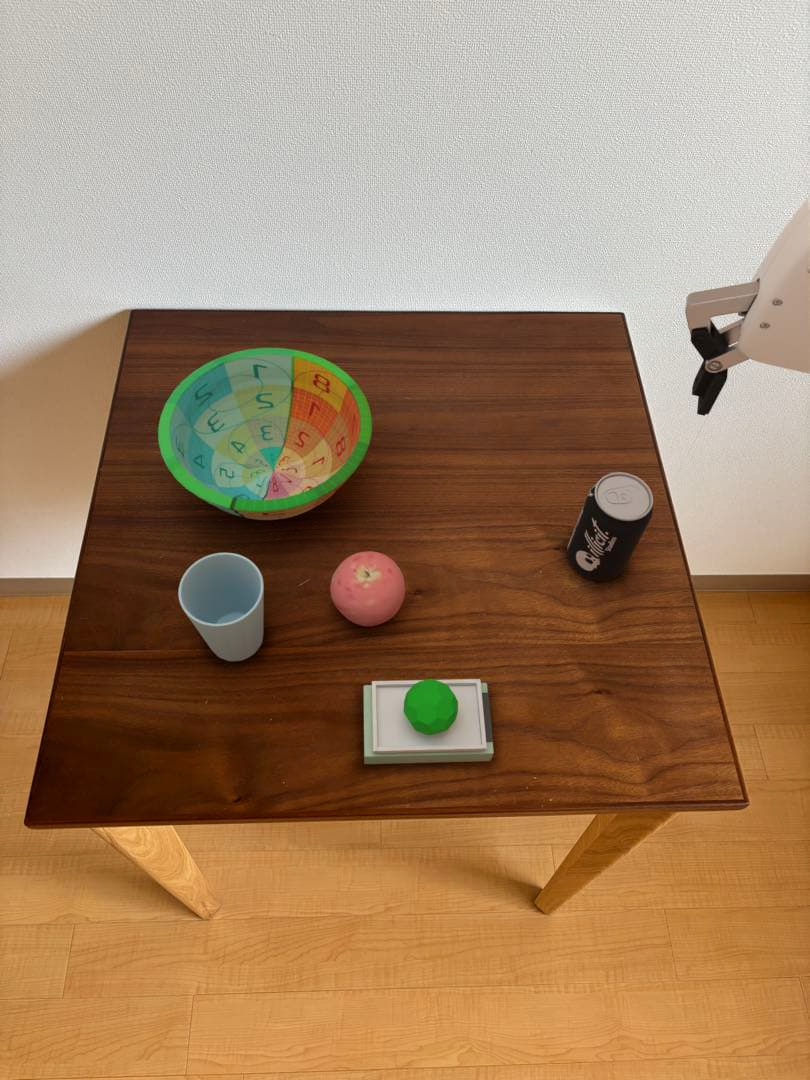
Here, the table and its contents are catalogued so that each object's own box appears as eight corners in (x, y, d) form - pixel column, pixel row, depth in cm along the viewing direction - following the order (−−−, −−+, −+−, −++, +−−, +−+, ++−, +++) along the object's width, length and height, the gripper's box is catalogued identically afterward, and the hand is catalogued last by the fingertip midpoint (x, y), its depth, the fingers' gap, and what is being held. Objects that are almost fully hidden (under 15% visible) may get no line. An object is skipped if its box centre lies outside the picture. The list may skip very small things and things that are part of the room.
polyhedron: (454, 743, 75) (459, 726, 71) (401, 740, 75) (403, 722, 71) (455, 692, 78) (460, 673, 74) (404, 689, 78) (406, 669, 74)
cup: (182, 632, 83) (161, 582, 74) (245, 590, 86) (232, 537, 77) (225, 686, 80) (208, 641, 72) (288, 641, 83) (279, 592, 74)
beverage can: (628, 585, 88) (662, 524, 78) (568, 583, 88) (594, 522, 78) (620, 534, 92) (652, 469, 82) (562, 532, 92) (587, 467, 82)
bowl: (233, 384, 102) (221, 323, 93) (400, 439, 98) (403, 381, 89) (138, 521, 90) (115, 466, 82) (323, 590, 87) (318, 540, 78)
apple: (368, 653, 83) (369, 617, 76) (318, 608, 85) (314, 569, 79) (417, 606, 86) (422, 568, 79) (367, 564, 88) (368, 524, 82)
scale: (484, 691, 81) (488, 677, 78) (490, 761, 77) (495, 749, 74) (363, 694, 81) (363, 680, 77) (364, 764, 77) (364, 752, 74)
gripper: (1063, 192, 44) (892, 404, 59) (743, 134, 46) (654, 353, 61) (1089, 281, 41) (899, 484, 55) (738, 214, 42) (644, 428, 57)
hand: (770, 415), depth 58 cm, fingers open, 9 cm apart
